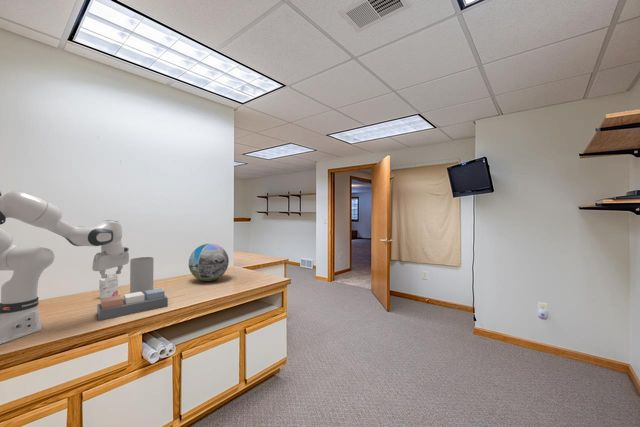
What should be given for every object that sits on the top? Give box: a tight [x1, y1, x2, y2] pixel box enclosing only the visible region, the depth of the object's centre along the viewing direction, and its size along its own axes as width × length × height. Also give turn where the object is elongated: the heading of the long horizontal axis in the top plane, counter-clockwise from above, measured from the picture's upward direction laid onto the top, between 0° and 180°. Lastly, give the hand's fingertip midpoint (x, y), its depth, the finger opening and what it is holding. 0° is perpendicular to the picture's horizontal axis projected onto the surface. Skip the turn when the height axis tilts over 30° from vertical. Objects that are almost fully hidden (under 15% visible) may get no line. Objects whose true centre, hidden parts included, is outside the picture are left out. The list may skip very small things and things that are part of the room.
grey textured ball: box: [188, 243, 230, 282], centre depth 213 cm, size 30×30×30 cm
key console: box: [96, 294, 169, 321], centre depth 149 cm, size 31×13×5 cm, turn 134°
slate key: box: [145, 287, 165, 301], centre depth 156 cm, size 8×8×4 cm
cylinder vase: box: [129, 256, 154, 296], centre depth 171 cm, size 12×12×25 cm
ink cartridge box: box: [98, 272, 119, 299], centre depth 171 cm, size 9×5×15 cm, turn 168°
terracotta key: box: [100, 294, 123, 309], centre depth 142 cm, size 8×8×4 cm
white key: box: [123, 292, 144, 305], centre depth 149 cm, size 8×8×4 cm
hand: (111, 275), depth 142 cm, fingers open, 8 cm apart
